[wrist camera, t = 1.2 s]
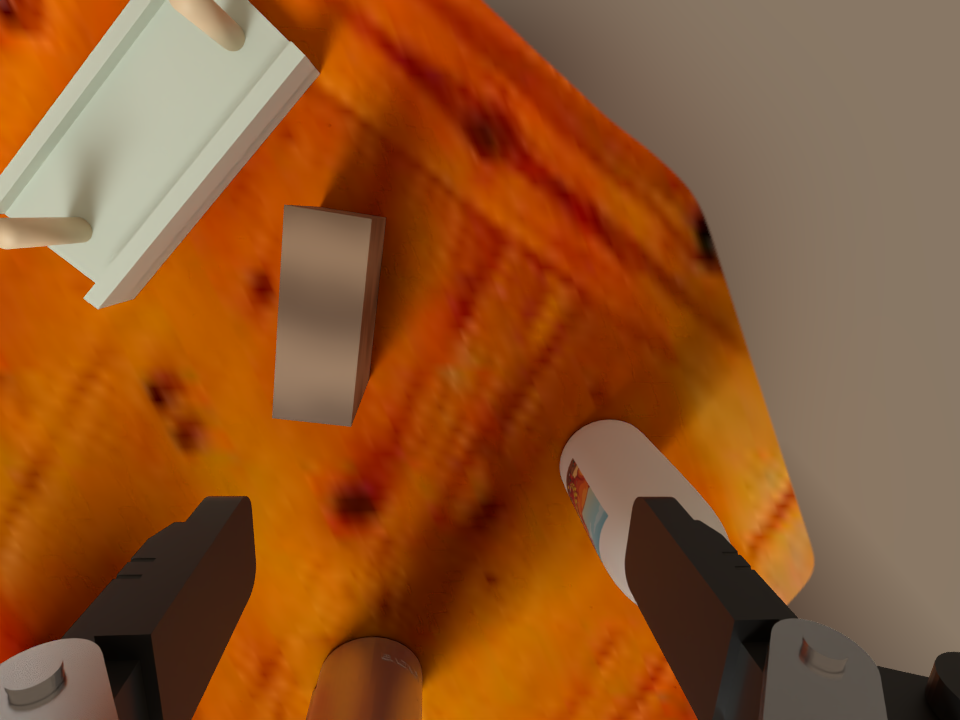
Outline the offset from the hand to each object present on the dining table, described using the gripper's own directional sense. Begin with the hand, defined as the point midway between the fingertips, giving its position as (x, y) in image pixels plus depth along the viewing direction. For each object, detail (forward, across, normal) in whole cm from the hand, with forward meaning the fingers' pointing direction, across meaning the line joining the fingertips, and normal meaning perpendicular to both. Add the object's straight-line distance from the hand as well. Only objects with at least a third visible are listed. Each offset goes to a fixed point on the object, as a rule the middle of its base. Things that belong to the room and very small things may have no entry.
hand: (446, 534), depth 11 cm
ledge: (+28, +18, -10) cm, 35 cm away
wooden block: (+28, +6, 0) cm, 29 cm away
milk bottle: (+28, -14, +12) cm, 34 cm away
